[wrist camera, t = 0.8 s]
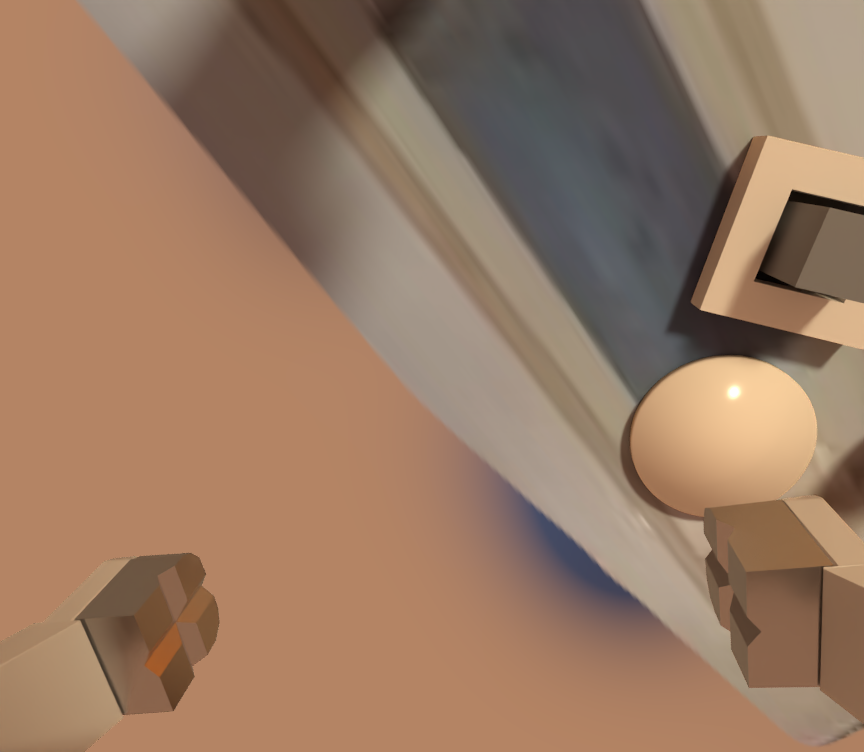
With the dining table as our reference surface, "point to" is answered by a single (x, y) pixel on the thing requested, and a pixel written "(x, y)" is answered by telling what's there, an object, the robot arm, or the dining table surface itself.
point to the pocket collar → (752, 232)
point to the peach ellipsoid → (722, 434)
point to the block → (818, 250)
